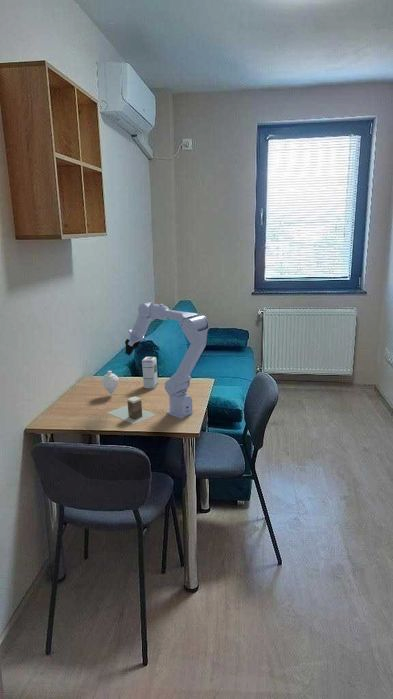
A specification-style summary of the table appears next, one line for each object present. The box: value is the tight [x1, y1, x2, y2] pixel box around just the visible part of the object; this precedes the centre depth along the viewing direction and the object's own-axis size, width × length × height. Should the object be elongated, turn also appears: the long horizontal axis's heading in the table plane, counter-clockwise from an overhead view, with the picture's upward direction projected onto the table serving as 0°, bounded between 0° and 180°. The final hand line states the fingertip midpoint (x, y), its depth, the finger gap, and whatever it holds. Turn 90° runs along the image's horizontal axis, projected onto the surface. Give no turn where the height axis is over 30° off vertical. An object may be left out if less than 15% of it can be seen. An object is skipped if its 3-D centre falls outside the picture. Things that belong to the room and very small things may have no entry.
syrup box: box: [141, 356, 159, 389], centre depth 222 cm, size 6×6×14 cm
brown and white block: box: [127, 396, 143, 420], centre depth 186 cm, size 4×4×8 cm
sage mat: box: [106, 404, 157, 425], centre depth 191 cm, size 18×12×1 cm, turn 46°
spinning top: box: [101, 370, 120, 396], centre depth 212 cm, size 8×8×12 cm
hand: (130, 349), depth 201 cm, fingers open, 7 cm apart
